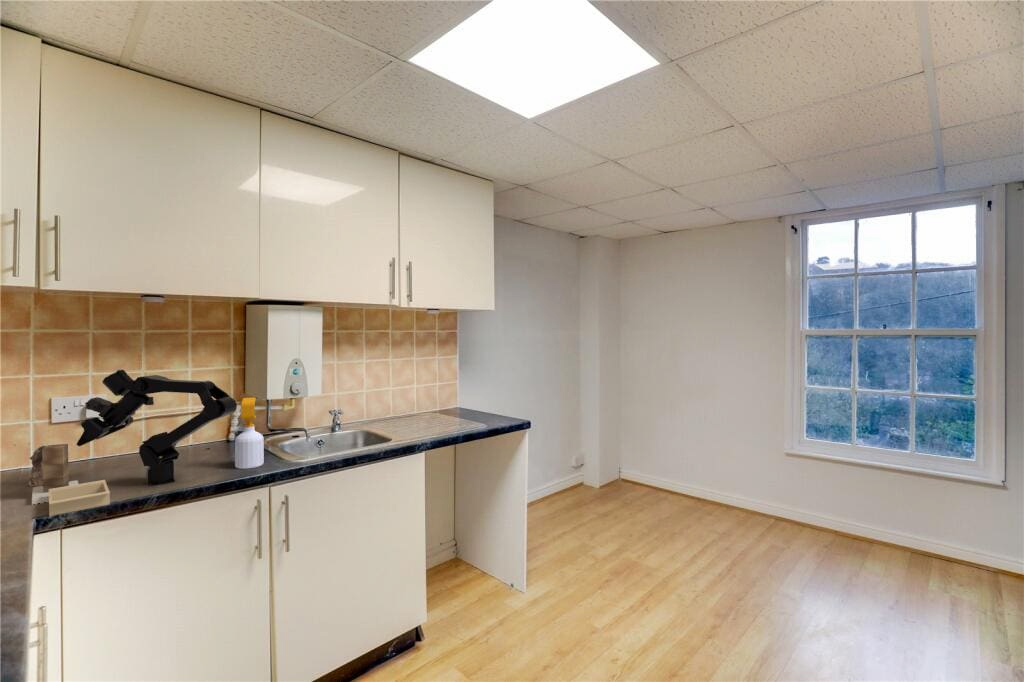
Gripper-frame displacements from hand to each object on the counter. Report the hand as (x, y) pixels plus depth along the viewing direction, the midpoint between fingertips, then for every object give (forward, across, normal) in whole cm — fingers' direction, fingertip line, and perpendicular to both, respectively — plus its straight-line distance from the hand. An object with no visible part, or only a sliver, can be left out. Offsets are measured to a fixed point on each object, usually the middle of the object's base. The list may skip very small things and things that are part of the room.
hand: (87, 441), depth 150 cm
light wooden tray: (+4, +19, +15) cm, 25 cm away
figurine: (+20, -5, 0) cm, 20 cm away
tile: (+12, +9, +7) cm, 16 cm away
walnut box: (+11, +9, +6) cm, 15 cm away
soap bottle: (-21, -11, +41) cm, 47 cm away
